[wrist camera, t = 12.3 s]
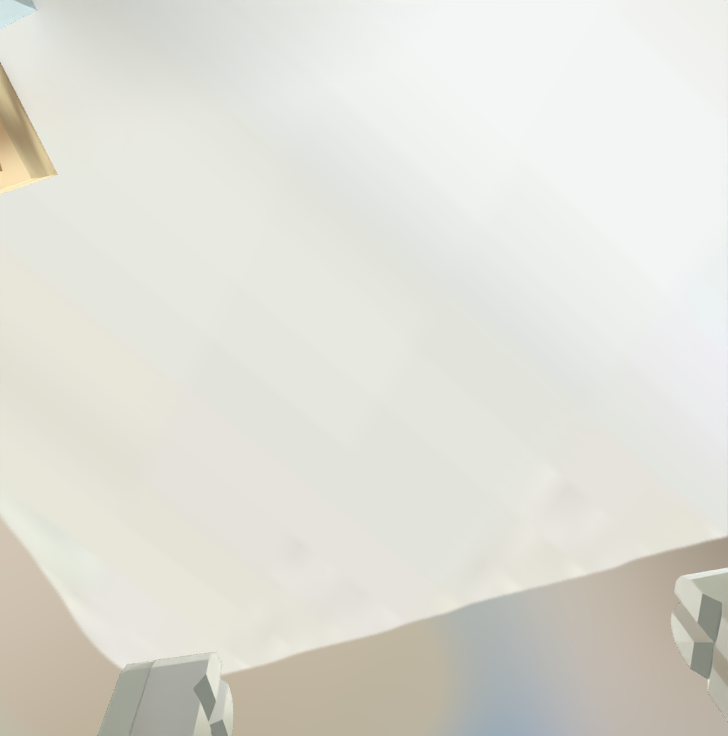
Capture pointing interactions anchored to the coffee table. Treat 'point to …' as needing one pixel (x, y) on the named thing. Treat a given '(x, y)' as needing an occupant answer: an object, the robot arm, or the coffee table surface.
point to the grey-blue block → (14, 10)
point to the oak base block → (19, 143)
